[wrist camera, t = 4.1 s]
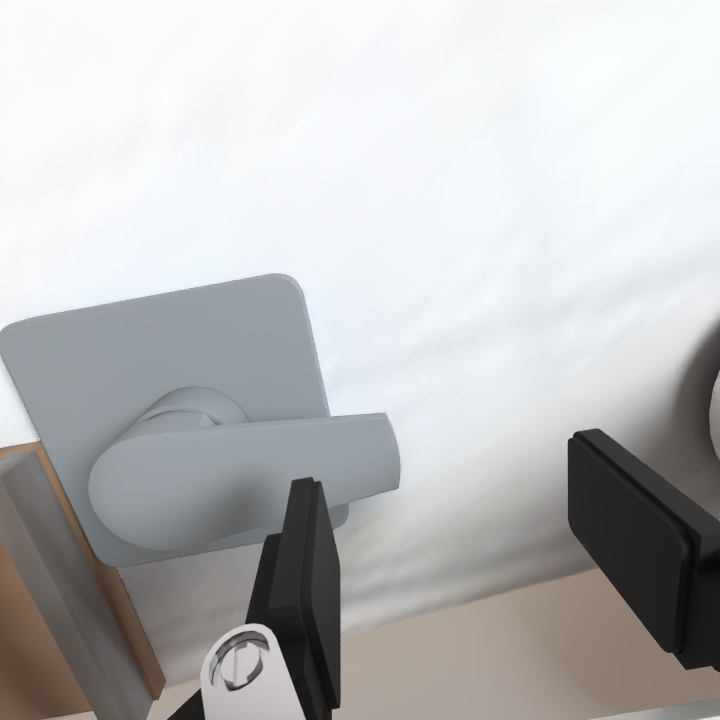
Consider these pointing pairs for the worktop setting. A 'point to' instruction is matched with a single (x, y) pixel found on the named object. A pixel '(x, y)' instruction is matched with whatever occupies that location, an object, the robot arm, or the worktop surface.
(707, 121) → the worktop surface
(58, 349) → the shower valve
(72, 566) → the stand
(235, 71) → the worktop surface
